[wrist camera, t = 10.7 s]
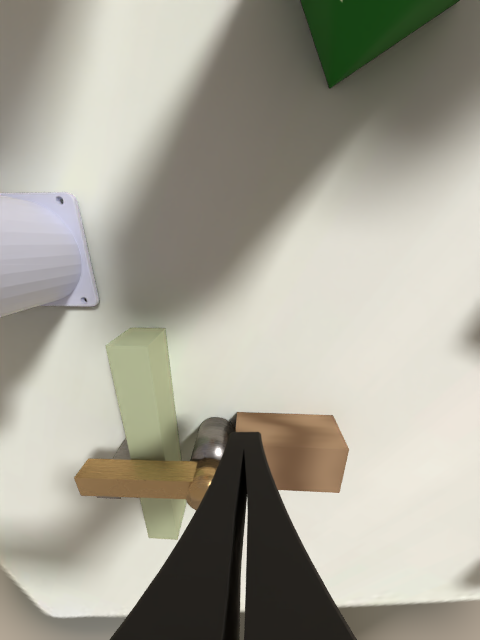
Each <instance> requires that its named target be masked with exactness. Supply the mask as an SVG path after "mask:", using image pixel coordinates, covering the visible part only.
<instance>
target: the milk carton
mask: <svg viewBox="0 0 480 640" xmlns="http://www.w3.org/2000/svg"><path fill="white" fill-rule="evenodd" d="M300 1H301V4H302V7H303V10H304V13H305V16H306V19H307V22H308V25H309V28H310V31H311V34H312V37H313V40H314V43H315V46H316V49H317V52H318V55H319V58H320V61H321V64H322V67H323V70H324V73H325V76H326V79H327V82H328V85H329V88H331V87H333V86H334V85H336V84H337V83H339V82H340V81H341V80H343V79H344V78H346V77H347V76H349V75H350V74H352V73H353V72H355V71H356V70H358V69H359V68H361V67H362V66H364V65H365V64H367V63H368V62H370V61H371V60H372V59H374V58H375V57H377V56H378V55H380V54H381V53H383V52H384V51H386V50H387V49H389V48H390V47H392V46H393V45H395V44H396V43H398V42H399V41H400V40H402V39H403V38H405V37H406V36H408V35H409V34H411V33H412V32H414V31H415V30H417V29H418V28H420V27H421V26H423V25H424V24H426V23H427V22H429V21H430V20H431V19H433V18H434V17H436V16H437V15H439V14H440V13H442V12H443V11H445V10H446V9H448V8H449V7H451V6H452V5H454V4H455V3H457V2H458V1H459V0H300Z"/></svg>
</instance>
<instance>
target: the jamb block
mask: <svg viewBox="0 0 480 640" xmlns="http://www.w3.org/2000/svg"><path fill="white" fill-rule="evenodd" d="M236 432H259V433H261V438H262V443H263V448H264V452H265V455H266V458H267V462H268V465H269V468H270V471H271V473H272V476H273V479H274V482H275V484H276V487H277V489H278V490H292V491H313V492H333V493H339V492H340V488H341V483H342V479H343V474H344V470H345V465H346V461H347V456H348V452H349V448H348V446H347V444H346V442H345V440H344V438H343V436H342V434H341V431H340V429H339V427H338V425H337V423H336V421H335V419H334V417H333V415H305V414H276V413H246V412H237V420H236Z"/></svg>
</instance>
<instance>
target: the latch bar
mask: <svg viewBox="0 0 480 640" xmlns="http://www.w3.org/2000/svg"><path fill="white" fill-rule="evenodd" d="M219 463H220V461H218V460H216V459H211V458H206V459H202V460H199V461H198V462H193V461H157V460H121V459H88V460H87V461H86V463H85V464H84V465H83V467H82V468H81V469H80V471H79V472H78V473H77V475H76V476H75V477H74V479H75V482H76V484H77V487H78V489H79V492H80V494H81V495H82V496H109V497H136V498H163V499H186V500H187V503H188V504H189V505H190V506H191V507H192V508H193V509H195V510H197V509H198V507H199V505H200V503H201V501H202V499H203V497H204V495H205V493H206V491H207V489H208V487H209V485H210V483H211V481H212V479H213V476H214V474H215V472H216V470H217V467H218V465H219Z"/></svg>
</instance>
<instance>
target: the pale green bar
mask: <svg viewBox="0 0 480 640" xmlns="http://www.w3.org/2000/svg"><path fill="white" fill-rule="evenodd" d="M106 351H107V355H108V359H109V364H110V368H111V373H112V377H113V382H114V386H115V390H116V395H117V399H118V404H119V408H120V413H121V417H122V421H123V426H124V430H125V435H126V439H127V444H128V448H129V452H130V457H131V460H157V461H181V453H180V445H179V437H178V429H177V420H176V412H175V404H174V396H173V388H172V379H171V371H170V363H169V355H168V347H167V338H166V330H165V328H129V329H128V330H127V331H125V332H124V333H122V334H121V335H120V336H118V337H117V338H115V339H114V340H113V341H111V342H110V343H108V344H107V345H106ZM140 501H141V505H142V510H143V514H144V519H145V523H146V528H147V532H148V536H149V538H158V539H174V540H178V536H179V531H180V527H181V523H182V519H183V515H184V511H185V507H186V499H163V498H140Z"/></svg>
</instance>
